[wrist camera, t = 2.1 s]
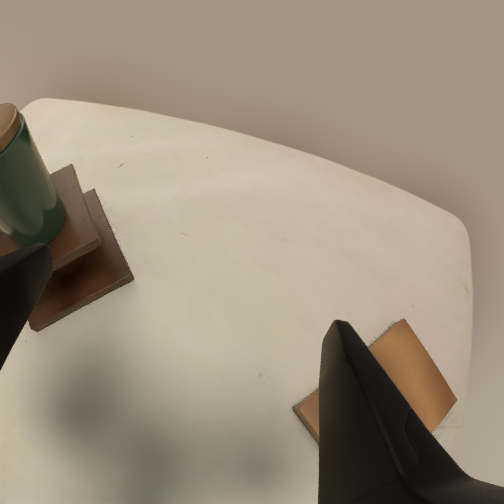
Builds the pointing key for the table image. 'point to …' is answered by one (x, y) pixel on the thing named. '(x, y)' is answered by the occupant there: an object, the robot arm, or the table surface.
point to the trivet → (399, 379)
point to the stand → (77, 255)
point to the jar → (25, 185)
